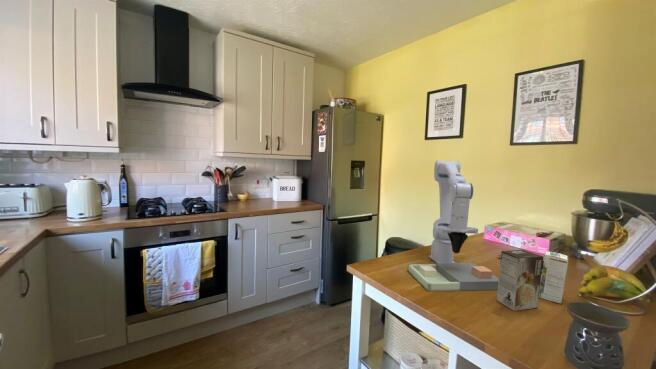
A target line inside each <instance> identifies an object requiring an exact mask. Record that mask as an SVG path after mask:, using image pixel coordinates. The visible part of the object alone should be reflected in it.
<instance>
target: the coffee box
mask: <svg viewBox="0 0 656 369" xmlns="http://www.w3.org/2000/svg"><path fill="white" fill-rule="evenodd" d="M500 255H501V257H500V263H499V264H500V266H499V274H498V278H499V282H498V290H497V292H496V302H497V301H498V302H499V303H501V304H503V305H504V306H505V307H507V308H508V309H510V310H512V311H514V312H515V311H522V310H529V309H530V310H531V309H536V308H538V306H539V299H540V298H539V291H540V284H541V276H542V274H541V273H542V265H543V261H544V256H543V255H541V254H537V253H534V252H533V251H528V250H526V249H514V250H502V251H501V254H500Z"/></svg>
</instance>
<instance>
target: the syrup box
mask: <svg viewBox="0 0 656 369" xmlns="http://www.w3.org/2000/svg"><path fill="white" fill-rule="evenodd" d="M543 261H544V264H543V270H542V274H541V282H540V290H539V299H543V300H546V301H549V302H553V303H557V304H560V305H561V304H562V302H563V296H564V291H565V290H564V289H565V284H566V283H565V282H566V277H567V272H568V266H569V265H568V264H569V256H568V255H565V254H562V253H558V252H554V251H547V250H546V251H545V255H544V258H543Z"/></svg>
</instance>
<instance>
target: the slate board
mask: <svg viewBox="0 0 656 369" xmlns="http://www.w3.org/2000/svg"><path fill="white" fill-rule="evenodd" d="M434 264H435V265H436V270H437V272H439V273H440V274H441V275H442V276H444V277H445V278H446V279H447V280H449V281H450V282H459V283H460V288H459V291H460V292H461V291H496V290H497V291H498V282H499V276H498V277H497V276H496V275H494V274H493V273H492V278H481V279H480V278H478V277H477V276H475V275H474V274H472V273H471V271H472V266H478V264H475V262H456V263H437V262H435V263H434Z"/></svg>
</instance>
